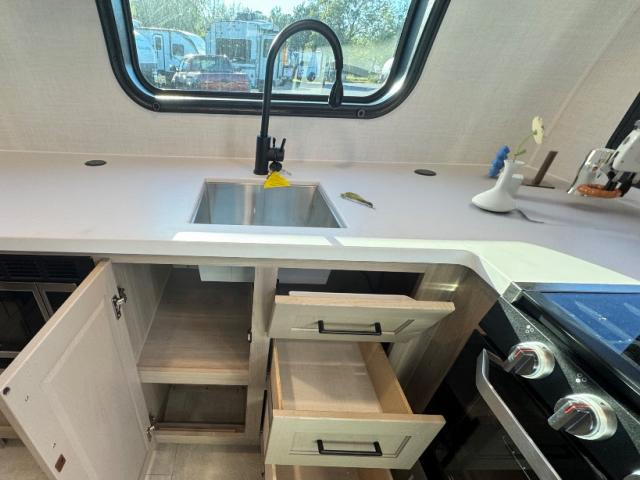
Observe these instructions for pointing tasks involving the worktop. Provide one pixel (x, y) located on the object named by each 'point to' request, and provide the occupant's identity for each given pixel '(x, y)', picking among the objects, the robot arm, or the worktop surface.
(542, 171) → the stand
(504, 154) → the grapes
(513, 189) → the product carton
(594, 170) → the beer glass
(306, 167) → the worktop surface
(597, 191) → the ring
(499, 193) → the flower in vase
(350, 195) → the green bird figurine
